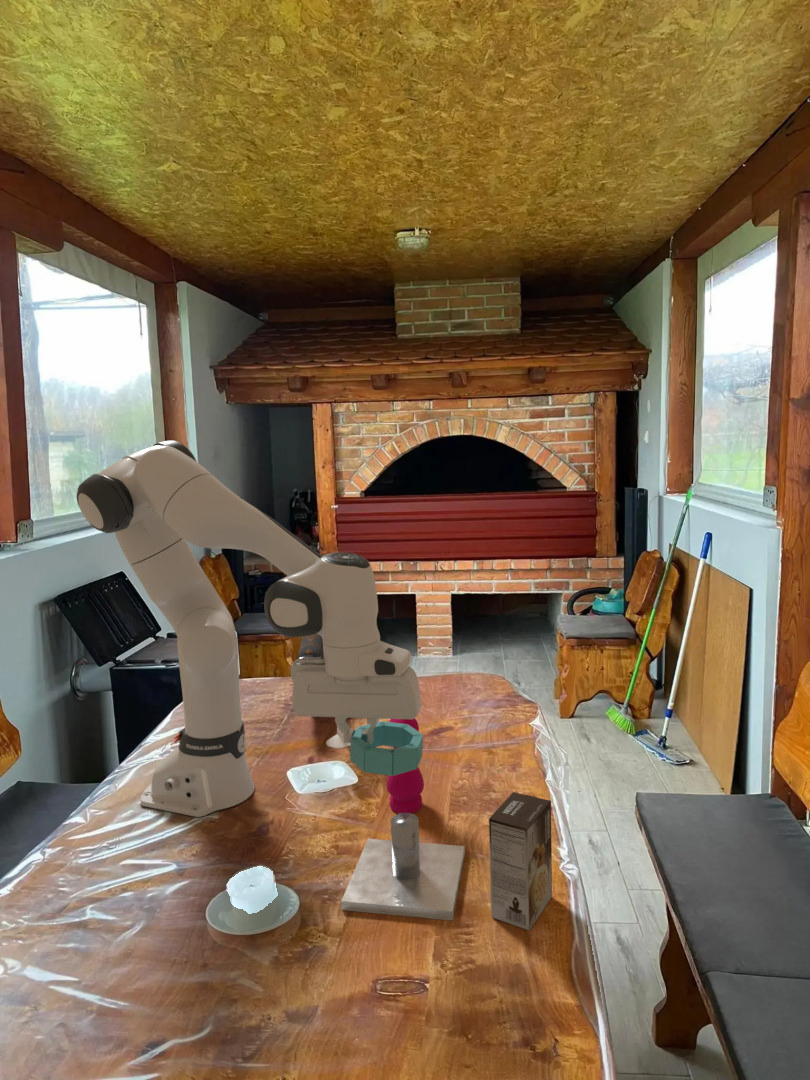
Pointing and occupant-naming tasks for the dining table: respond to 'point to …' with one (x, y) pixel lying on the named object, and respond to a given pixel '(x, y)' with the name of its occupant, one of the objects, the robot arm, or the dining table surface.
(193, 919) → the dining table surface
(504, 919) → the coffee box
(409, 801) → the pepper mill
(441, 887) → the post stand
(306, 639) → the gun
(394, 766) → the ring
